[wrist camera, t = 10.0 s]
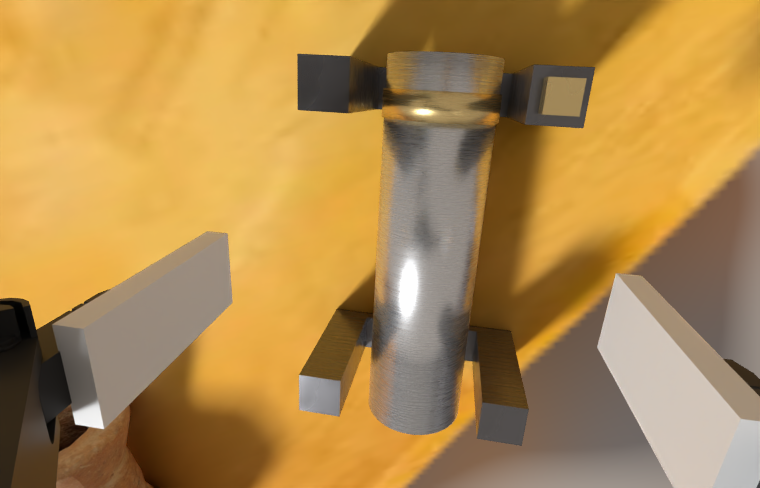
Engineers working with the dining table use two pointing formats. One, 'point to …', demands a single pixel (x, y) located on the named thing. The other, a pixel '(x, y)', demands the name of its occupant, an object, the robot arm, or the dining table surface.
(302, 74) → the collar near
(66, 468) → the pipe
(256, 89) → the dining table surface
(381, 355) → the tube
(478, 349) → the collar far
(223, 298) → the robot arm
